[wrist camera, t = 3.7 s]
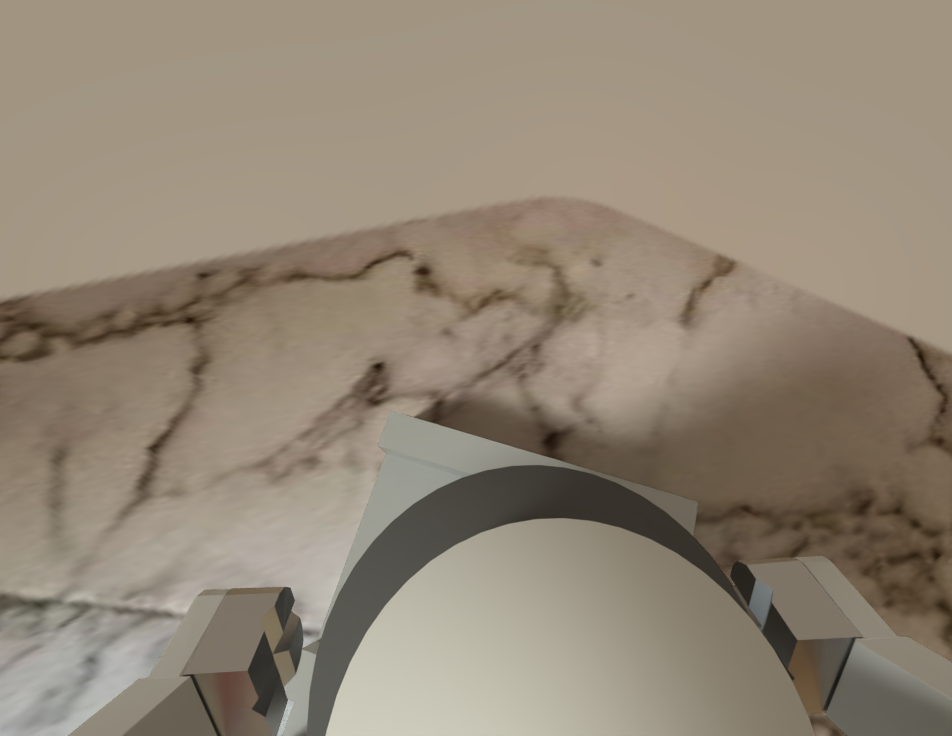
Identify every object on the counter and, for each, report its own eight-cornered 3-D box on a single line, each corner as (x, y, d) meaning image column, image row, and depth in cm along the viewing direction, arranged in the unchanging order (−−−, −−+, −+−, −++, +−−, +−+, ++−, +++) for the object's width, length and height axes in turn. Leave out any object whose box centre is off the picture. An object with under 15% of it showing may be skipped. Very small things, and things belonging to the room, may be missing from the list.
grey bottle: (420, 637, 15) (53, 1128, 2) (459, 508, 16) (365, 362, 4) (547, 682, 15) (980, 1620, 2) (577, 545, 16) (951, 528, 3)
